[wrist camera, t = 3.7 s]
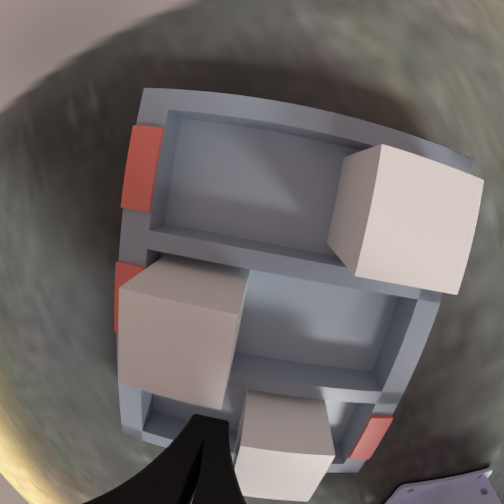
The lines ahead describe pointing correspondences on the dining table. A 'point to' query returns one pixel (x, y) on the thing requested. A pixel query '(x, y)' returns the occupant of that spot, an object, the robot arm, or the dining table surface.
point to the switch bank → (272, 259)
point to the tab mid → (181, 328)
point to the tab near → (404, 219)
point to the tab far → (282, 446)
